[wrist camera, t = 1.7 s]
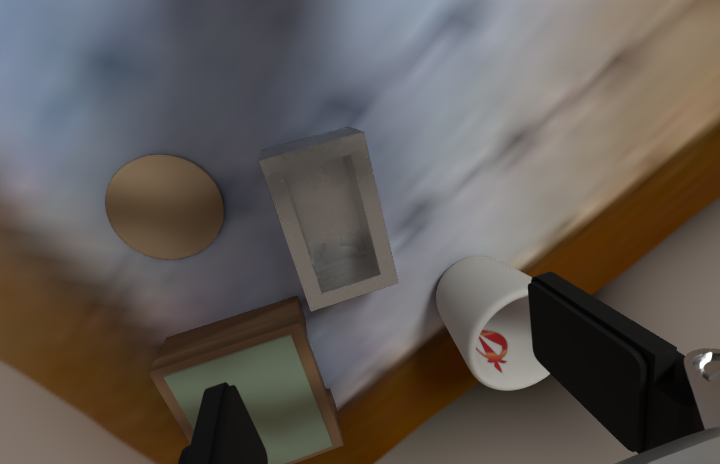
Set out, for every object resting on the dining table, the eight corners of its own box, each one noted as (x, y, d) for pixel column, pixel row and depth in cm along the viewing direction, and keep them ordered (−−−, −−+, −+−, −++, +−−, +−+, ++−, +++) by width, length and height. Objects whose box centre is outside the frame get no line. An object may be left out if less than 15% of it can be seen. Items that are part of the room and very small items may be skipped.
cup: (549, 253, 32) (629, 299, 25) (518, 331, 35) (584, 394, 27) (438, 237, 29) (492, 282, 22) (412, 323, 32) (454, 391, 24)
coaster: (86, 171, 23) (83, 172, 22) (200, 141, 23) (199, 142, 23) (138, 269, 25) (136, 272, 25) (239, 239, 26) (238, 241, 26)
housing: (262, 149, 25) (258, 161, 20) (347, 126, 25) (363, 131, 21) (305, 277, 28) (310, 311, 24) (379, 254, 29) (398, 283, 24)
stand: (165, 335, 27) (147, 374, 23) (296, 293, 28) (299, 324, 25) (225, 446, 32) (218, 494, 28) (336, 406, 33) (344, 447, 29)
